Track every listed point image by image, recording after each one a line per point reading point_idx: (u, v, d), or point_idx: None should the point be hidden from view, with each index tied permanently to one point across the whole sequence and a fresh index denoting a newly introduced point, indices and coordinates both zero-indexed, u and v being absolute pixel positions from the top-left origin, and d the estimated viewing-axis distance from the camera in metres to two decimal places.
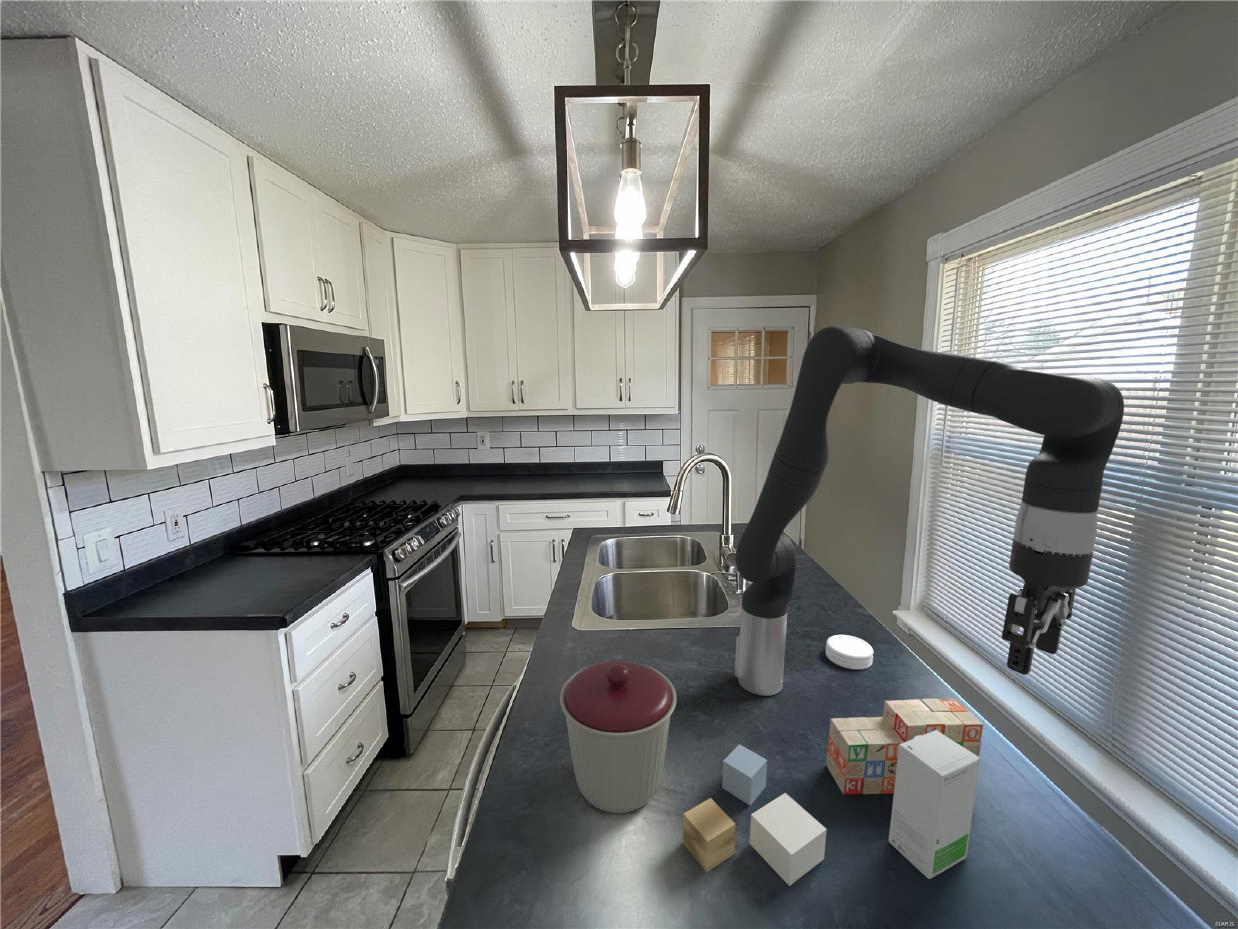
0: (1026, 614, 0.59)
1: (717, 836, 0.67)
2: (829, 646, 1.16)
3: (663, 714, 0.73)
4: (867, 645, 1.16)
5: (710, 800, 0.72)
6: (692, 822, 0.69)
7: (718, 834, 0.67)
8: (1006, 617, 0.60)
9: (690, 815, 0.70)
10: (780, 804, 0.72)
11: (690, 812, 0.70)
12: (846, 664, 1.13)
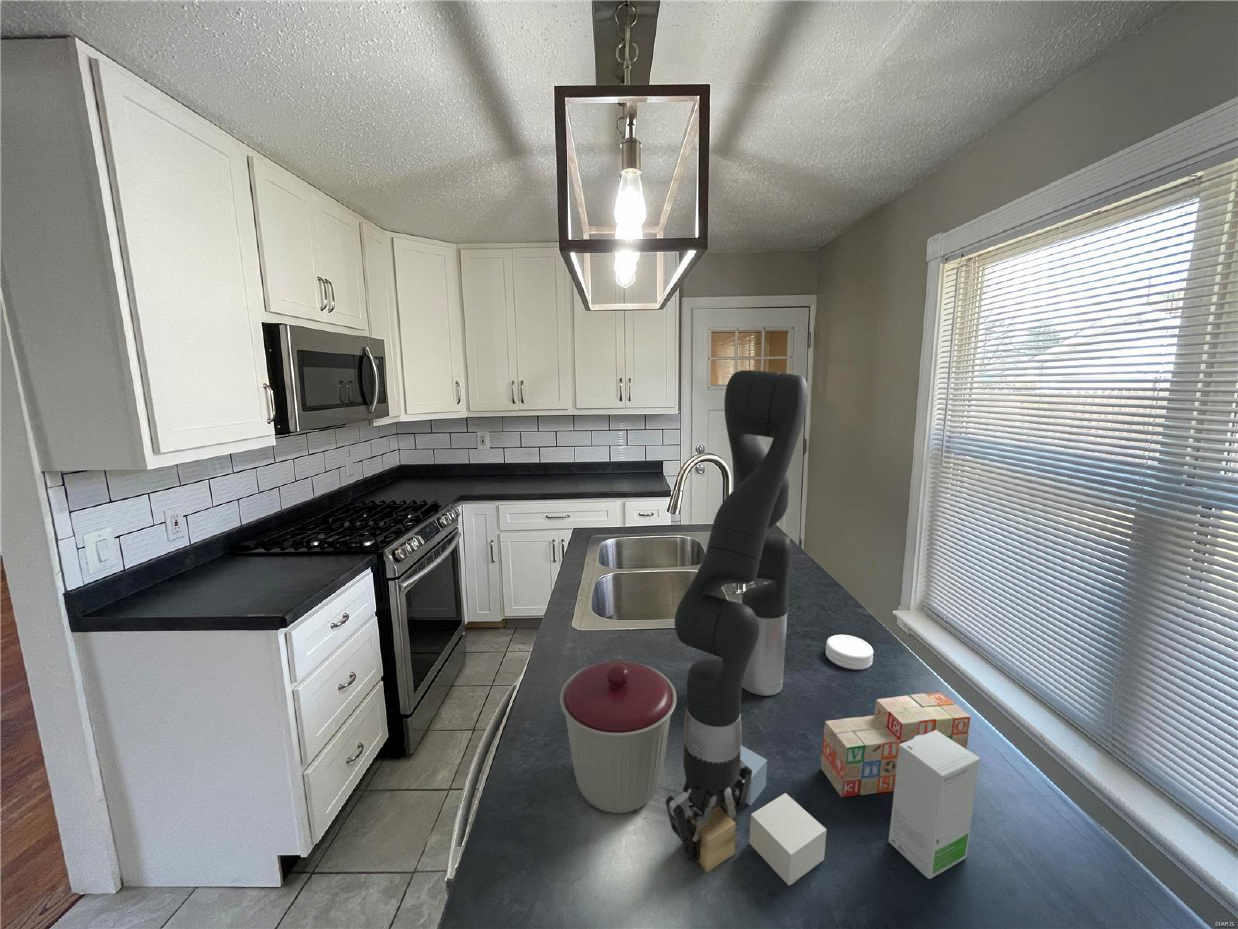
0: (676, 820, 0.65)
1: (718, 835, 0.67)
2: (829, 646, 1.16)
3: (663, 714, 0.73)
4: (867, 645, 1.16)
5: None
6: (692, 821, 0.69)
7: (718, 833, 0.67)
8: (669, 816, 0.66)
9: None
10: (780, 804, 0.72)
11: None
12: (846, 664, 1.13)
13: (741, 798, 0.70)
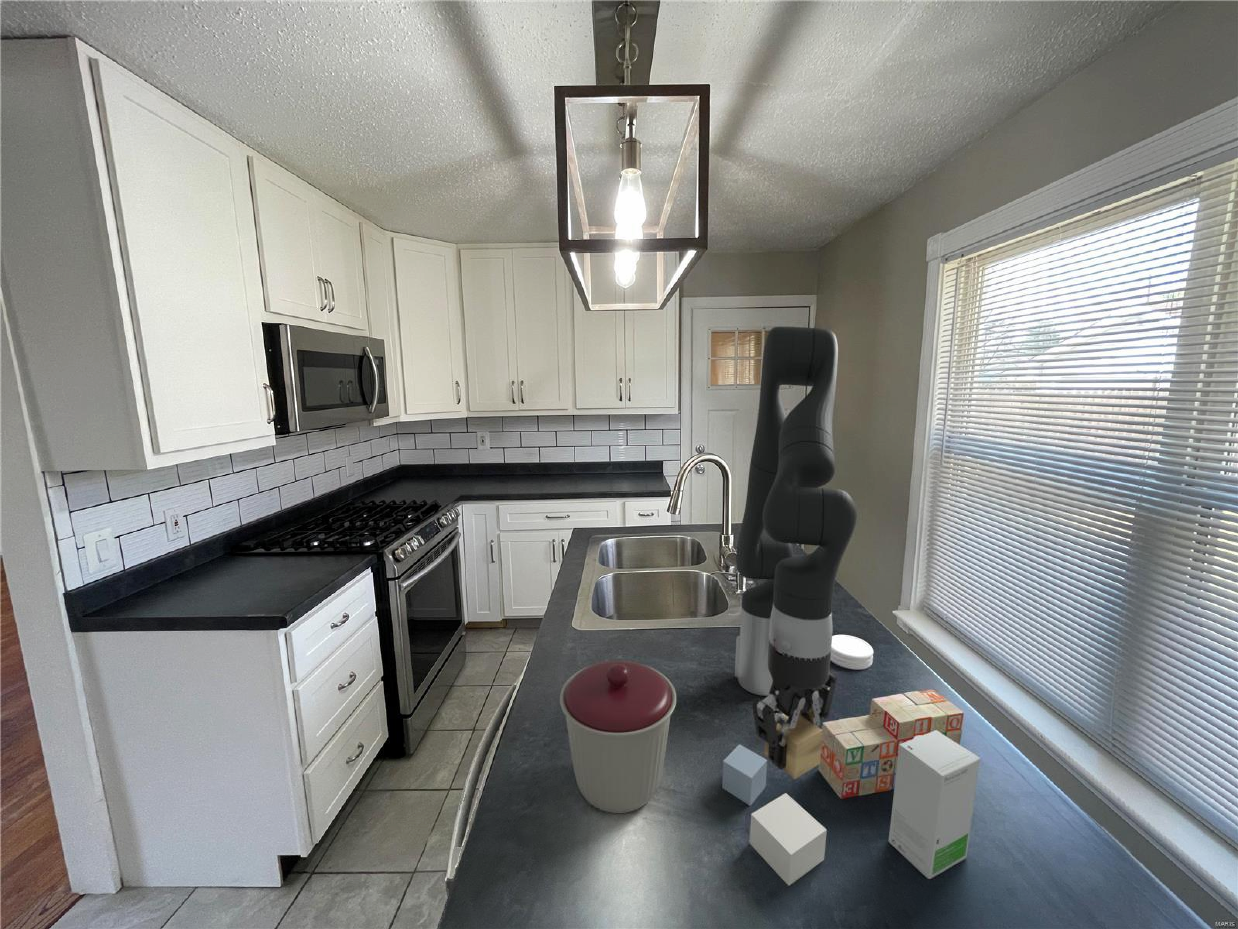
0: (765, 721, 0.62)
1: (806, 740, 0.64)
2: None
3: (663, 714, 0.73)
4: (867, 645, 1.16)
5: None
6: (777, 728, 0.66)
7: (806, 738, 0.64)
8: (755, 720, 0.64)
9: None
10: (780, 804, 0.72)
11: None
12: (846, 664, 1.13)
13: (825, 706, 0.67)
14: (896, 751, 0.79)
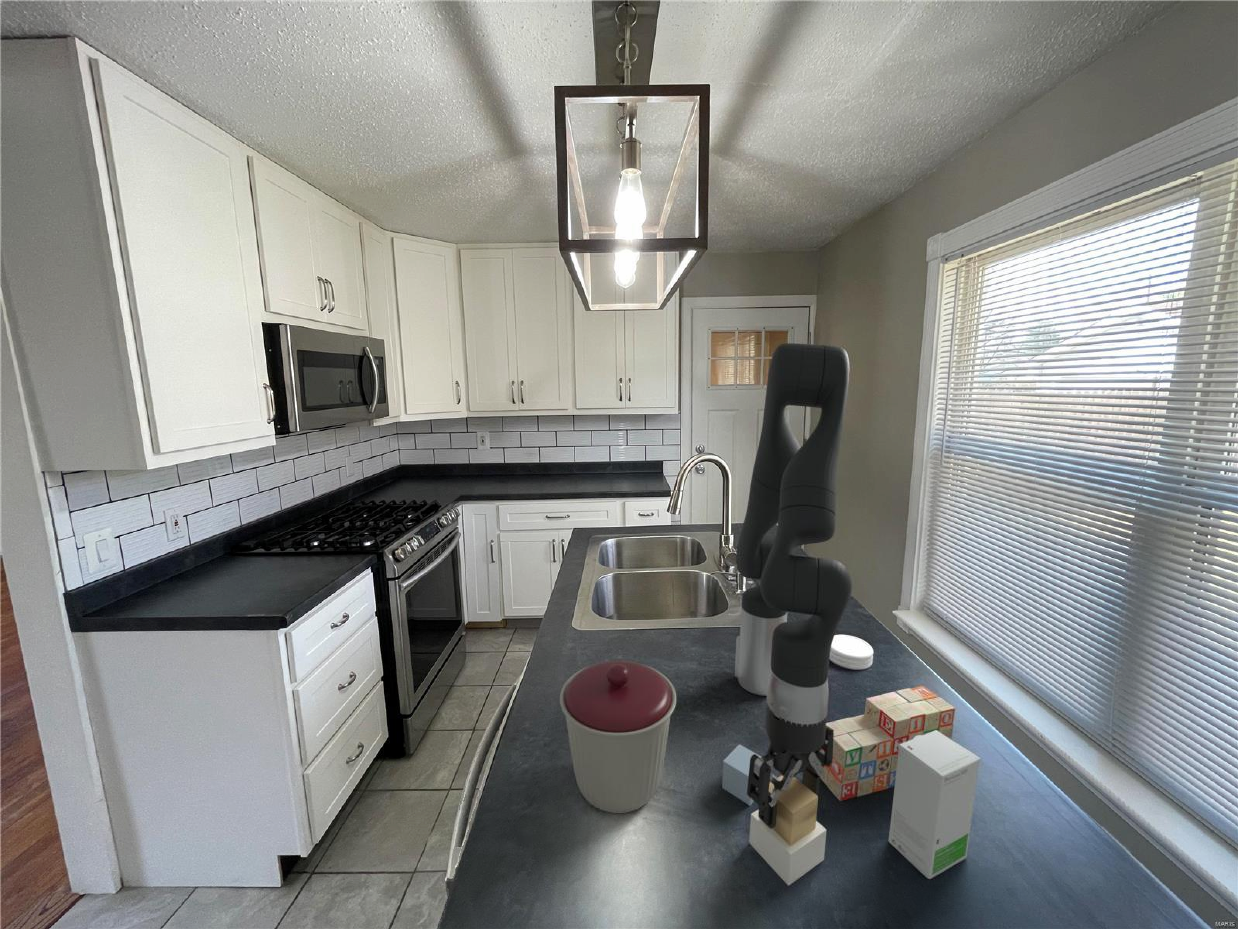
0: (760, 778, 0.63)
1: (802, 808, 0.65)
2: None
3: (663, 714, 0.73)
4: (867, 645, 1.16)
5: None
6: None
7: (802, 806, 0.65)
8: (749, 777, 0.64)
9: (770, 788, 0.68)
10: None
11: (770, 785, 0.69)
12: (846, 664, 1.13)
13: (827, 757, 0.69)
14: (892, 750, 0.79)
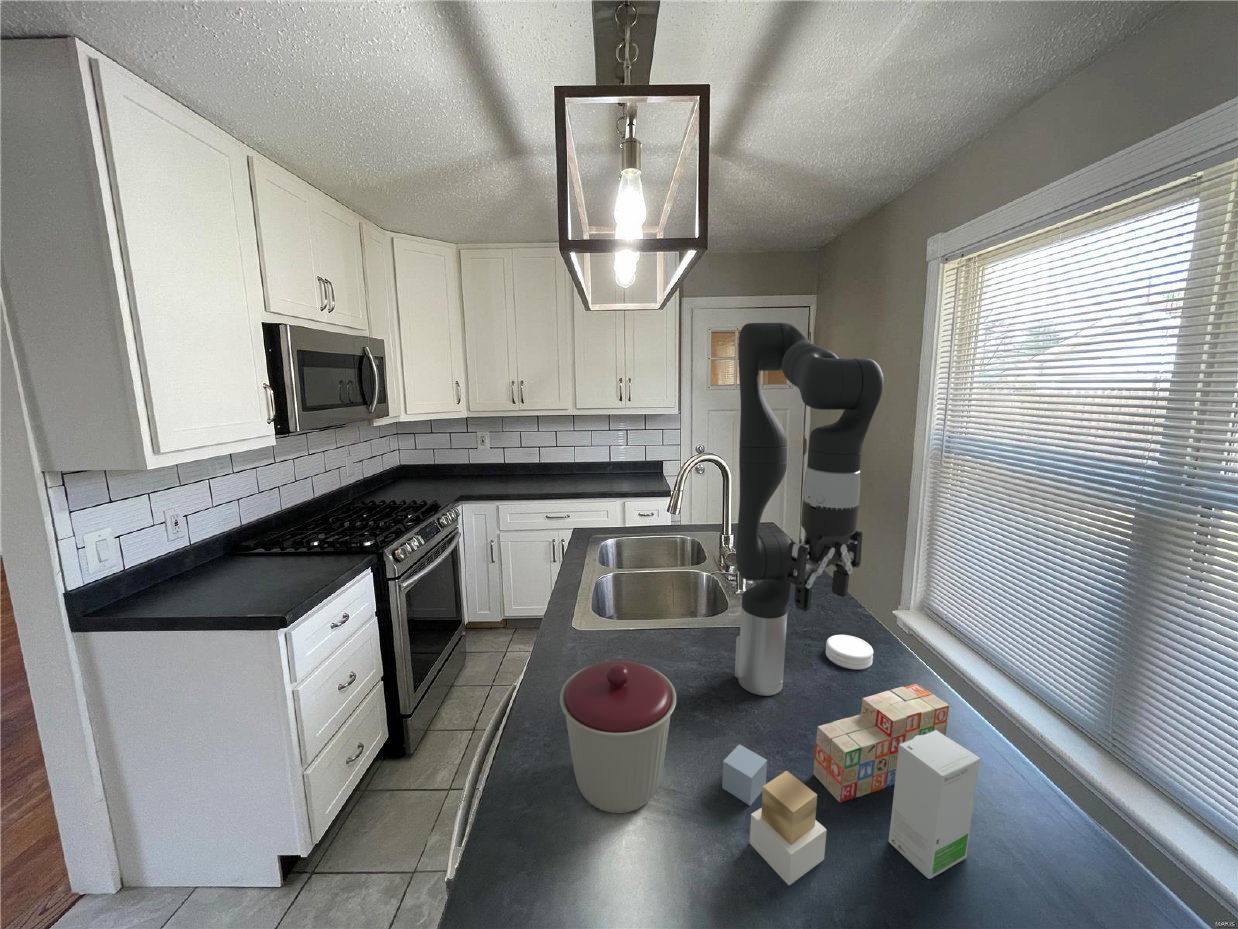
0: (798, 558, 0.70)
1: (802, 806, 0.66)
2: (829, 646, 1.16)
3: (663, 714, 0.73)
4: (867, 645, 1.16)
5: (787, 773, 0.71)
6: (773, 794, 0.67)
7: (802, 805, 0.66)
8: (787, 562, 0.72)
9: (770, 788, 0.68)
10: None
11: (769, 784, 0.69)
12: (846, 664, 1.13)
13: (856, 558, 0.77)
14: (890, 749, 0.79)
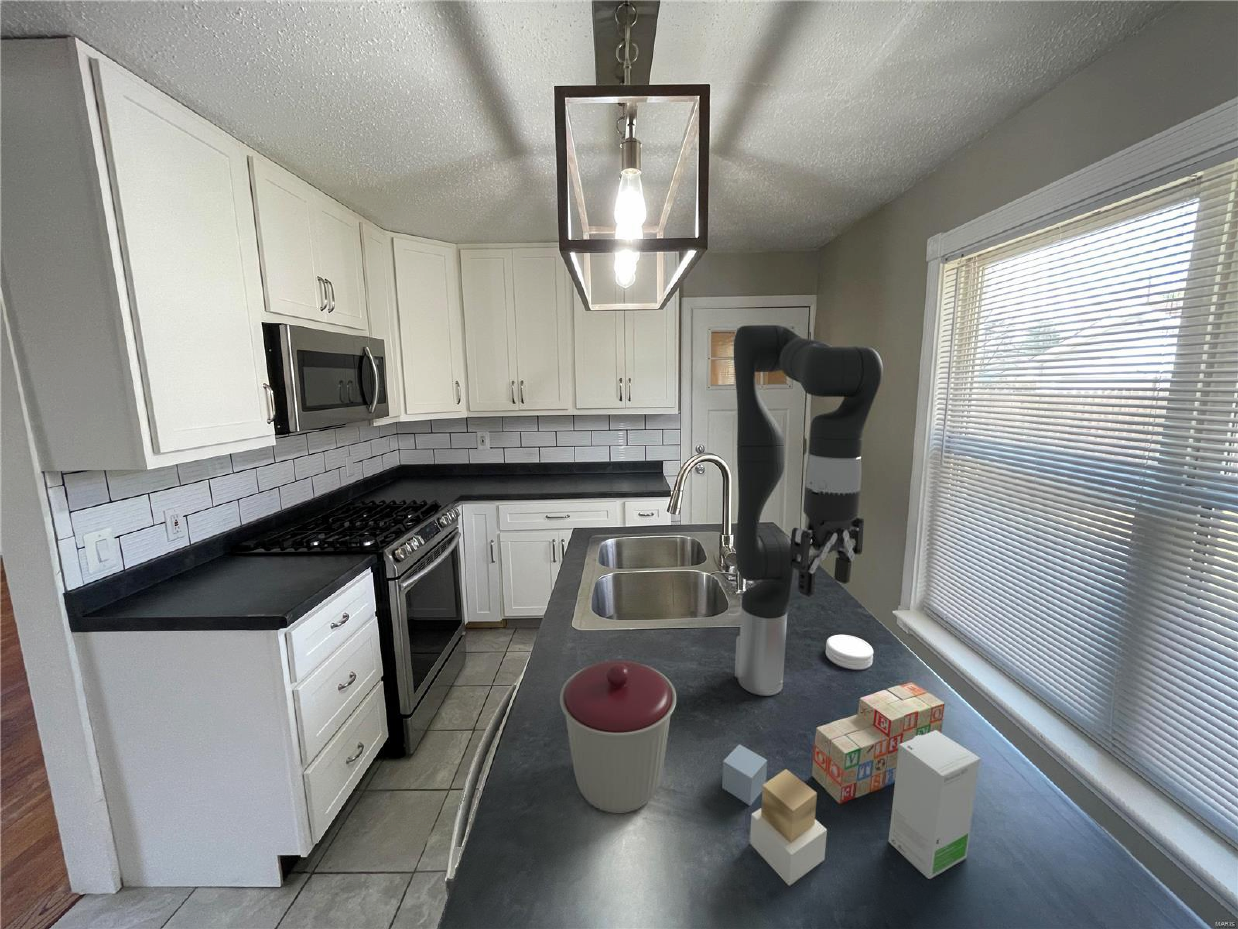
0: (802, 543, 0.71)
1: (801, 805, 0.66)
2: (829, 646, 1.16)
3: (663, 714, 0.73)
4: (867, 645, 1.16)
5: (786, 771, 0.71)
6: (773, 792, 0.68)
7: (802, 803, 0.66)
8: (790, 547, 0.73)
9: (770, 786, 0.69)
10: None
11: (769, 783, 0.69)
12: (846, 664, 1.13)
13: (858, 544, 0.78)
14: (888, 749, 0.79)
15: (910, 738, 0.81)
